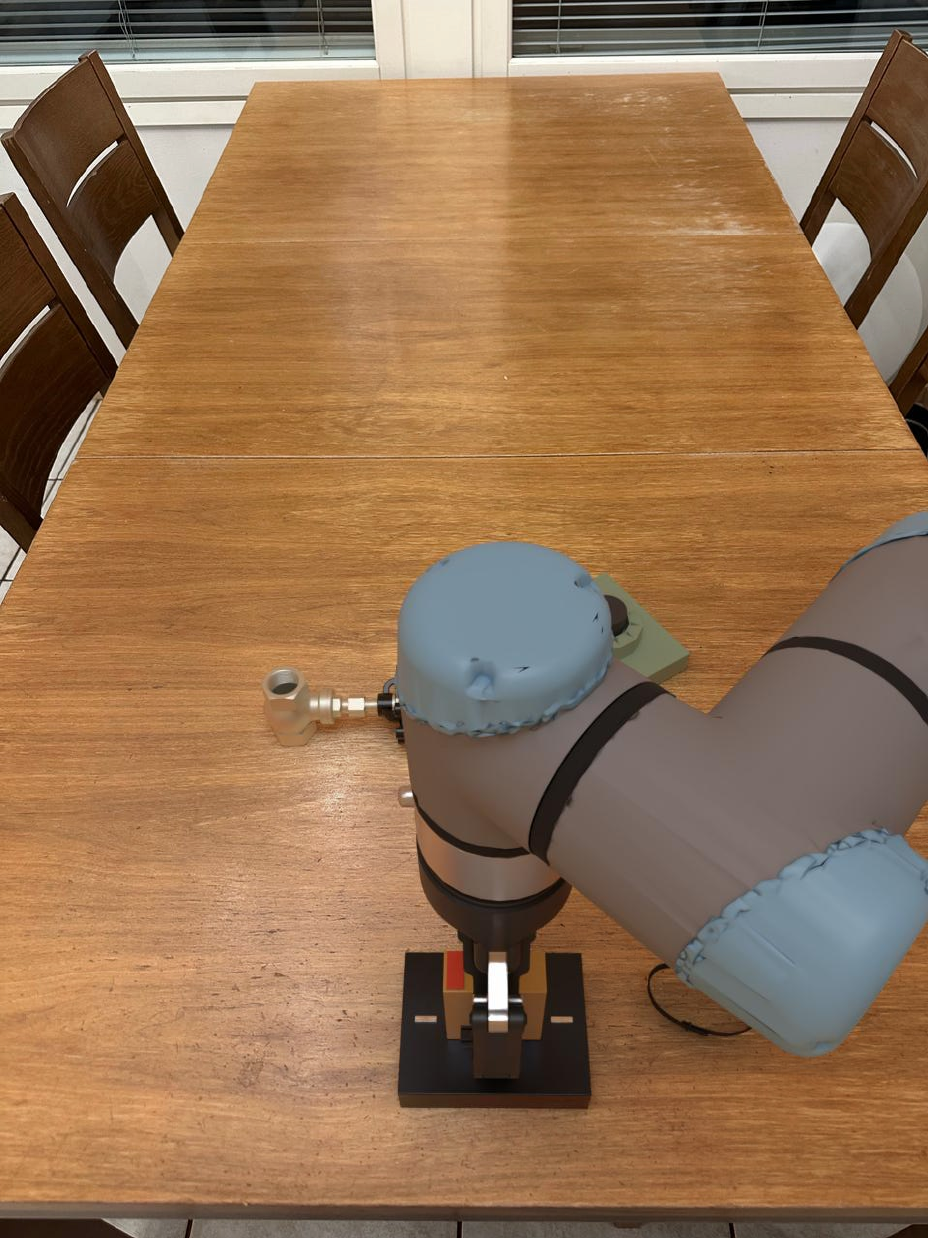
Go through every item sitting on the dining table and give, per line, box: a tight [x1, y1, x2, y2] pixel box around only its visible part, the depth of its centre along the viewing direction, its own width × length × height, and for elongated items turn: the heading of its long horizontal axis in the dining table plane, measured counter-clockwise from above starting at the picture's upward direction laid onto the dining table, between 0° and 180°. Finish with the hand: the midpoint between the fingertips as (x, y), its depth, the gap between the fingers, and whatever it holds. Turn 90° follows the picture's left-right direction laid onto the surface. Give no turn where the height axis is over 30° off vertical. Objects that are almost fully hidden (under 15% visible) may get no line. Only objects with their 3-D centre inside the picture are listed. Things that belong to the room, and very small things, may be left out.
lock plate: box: [397, 951, 593, 1110], centre depth 62 cm, size 12×9×3 cm
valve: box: [259, 664, 405, 747], centre depth 78 cm, size 7×7×12 cm
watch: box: [646, 962, 754, 1038], centre depth 63 cm, size 8×5×4 cm, turn 74°
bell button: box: [604, 595, 627, 637], centre depth 83 cm, size 4×4×2 cm
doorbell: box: [592, 572, 691, 685], centre depth 85 cm, size 12×10×4 cm
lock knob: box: [443, 950, 547, 1040], centre depth 58 cm, size 6×2×8 cm, turn 90°
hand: (493, 1013), depth 60 cm, fingers open, 5 cm apart
